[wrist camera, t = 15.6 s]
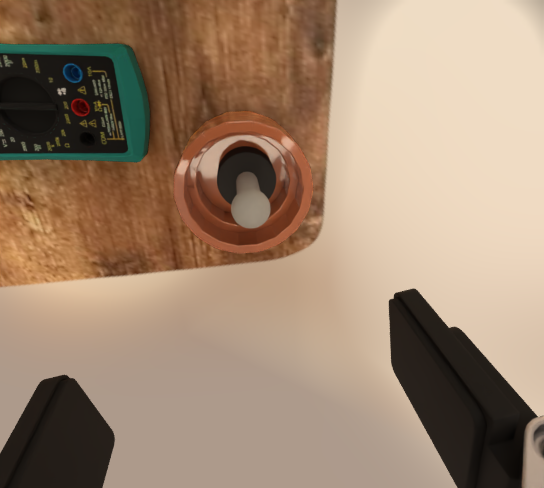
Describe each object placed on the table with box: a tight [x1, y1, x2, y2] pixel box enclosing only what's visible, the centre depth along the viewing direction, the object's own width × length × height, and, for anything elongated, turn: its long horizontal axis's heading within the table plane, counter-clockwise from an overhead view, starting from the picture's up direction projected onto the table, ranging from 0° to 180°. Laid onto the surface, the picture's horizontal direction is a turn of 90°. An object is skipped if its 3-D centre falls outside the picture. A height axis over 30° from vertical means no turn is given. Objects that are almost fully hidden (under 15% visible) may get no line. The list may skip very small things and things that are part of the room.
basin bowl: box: [174, 111, 313, 253], centre depth 26 cm, size 9×10×5 cm
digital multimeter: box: [0, 43, 150, 162], centre depth 23 cm, size 7×15×3 cm, turn 88°
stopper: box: [217, 146, 276, 228], centre depth 24 cm, size 4×4×8 cm
